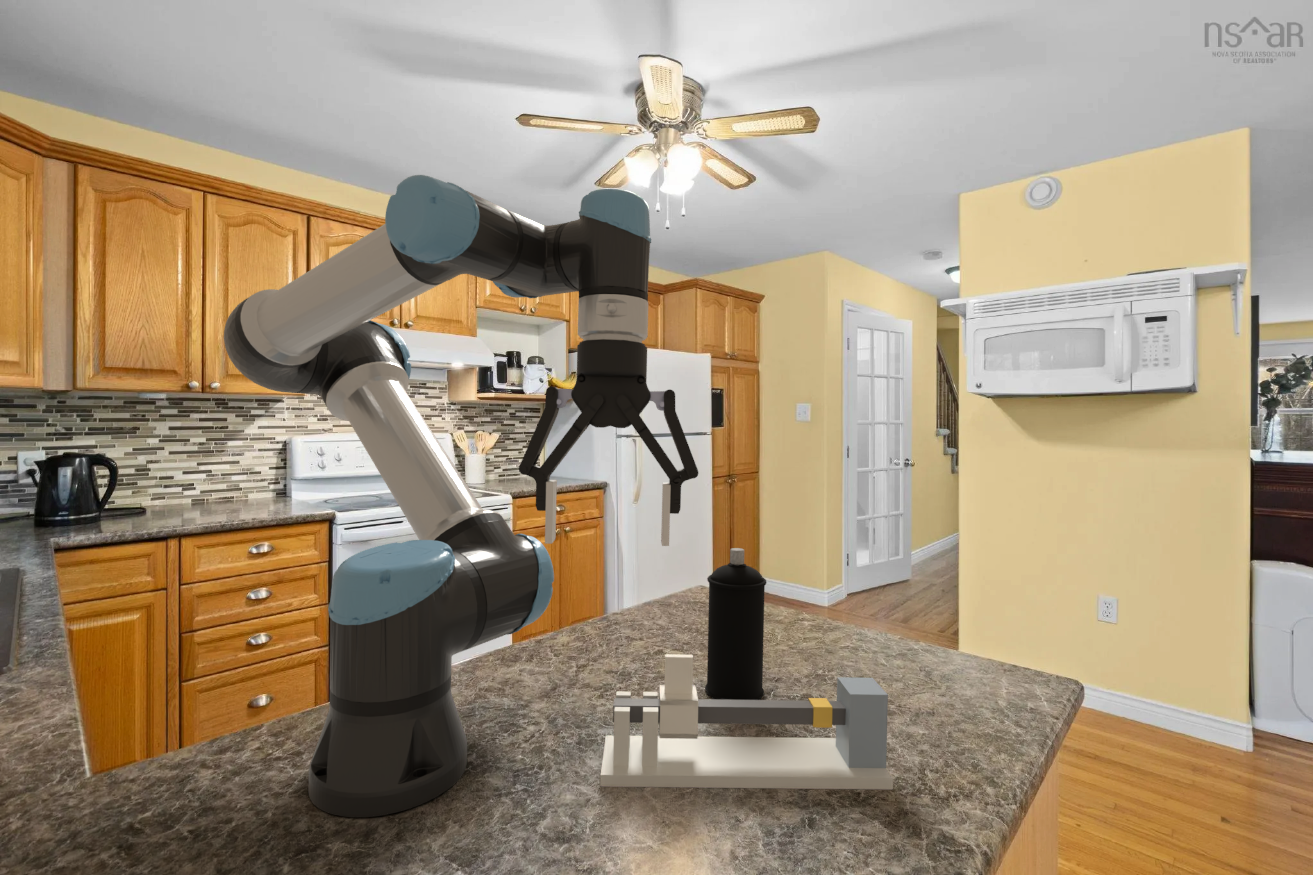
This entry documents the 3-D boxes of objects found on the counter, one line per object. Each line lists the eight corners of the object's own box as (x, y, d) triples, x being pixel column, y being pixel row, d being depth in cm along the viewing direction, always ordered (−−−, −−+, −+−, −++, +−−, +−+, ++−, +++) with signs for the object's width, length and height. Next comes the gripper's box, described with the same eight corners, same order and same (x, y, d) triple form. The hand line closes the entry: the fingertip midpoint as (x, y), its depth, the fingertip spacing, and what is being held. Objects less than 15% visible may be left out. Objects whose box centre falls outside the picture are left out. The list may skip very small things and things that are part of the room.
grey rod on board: (600, 786, 62) (602, 698, 62) (605, 745, 70) (607, 667, 70) (892, 789, 63) (894, 702, 62) (864, 748, 71) (866, 671, 70)
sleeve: (659, 738, 64) (661, 662, 64) (658, 720, 68) (660, 648, 68) (697, 738, 64) (699, 663, 64) (694, 720, 68) (696, 649, 68)
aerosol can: (763, 707, 80) (766, 557, 80) (701, 701, 82) (704, 553, 82) (764, 682, 89) (767, 545, 88) (708, 677, 90) (711, 542, 90)
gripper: (491, 333, 62) (487, 546, 62) (728, 339, 62) (722, 551, 62) (508, 343, 69) (504, 533, 69) (719, 349, 70) (714, 538, 70)
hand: (607, 542), depth 66 cm, fingers open, 12 cm apart
